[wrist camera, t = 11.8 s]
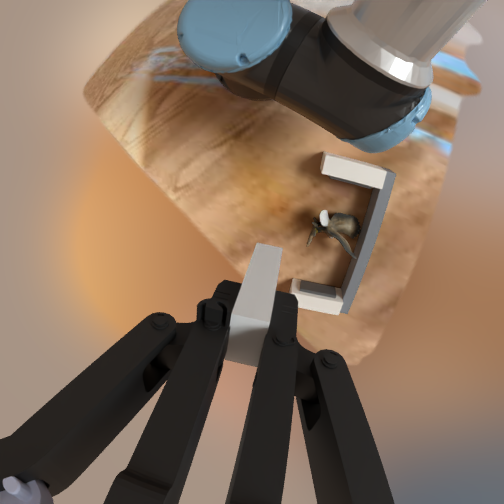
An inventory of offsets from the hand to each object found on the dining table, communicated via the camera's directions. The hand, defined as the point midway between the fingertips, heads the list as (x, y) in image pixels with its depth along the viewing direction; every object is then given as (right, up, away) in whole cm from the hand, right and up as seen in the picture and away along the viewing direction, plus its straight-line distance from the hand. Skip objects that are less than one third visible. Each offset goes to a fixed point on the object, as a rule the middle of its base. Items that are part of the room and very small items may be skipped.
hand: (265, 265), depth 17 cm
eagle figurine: (+14, +5, +34) cm, 37 cm away
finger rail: (+14, +4, +34) cm, 37 cm away
